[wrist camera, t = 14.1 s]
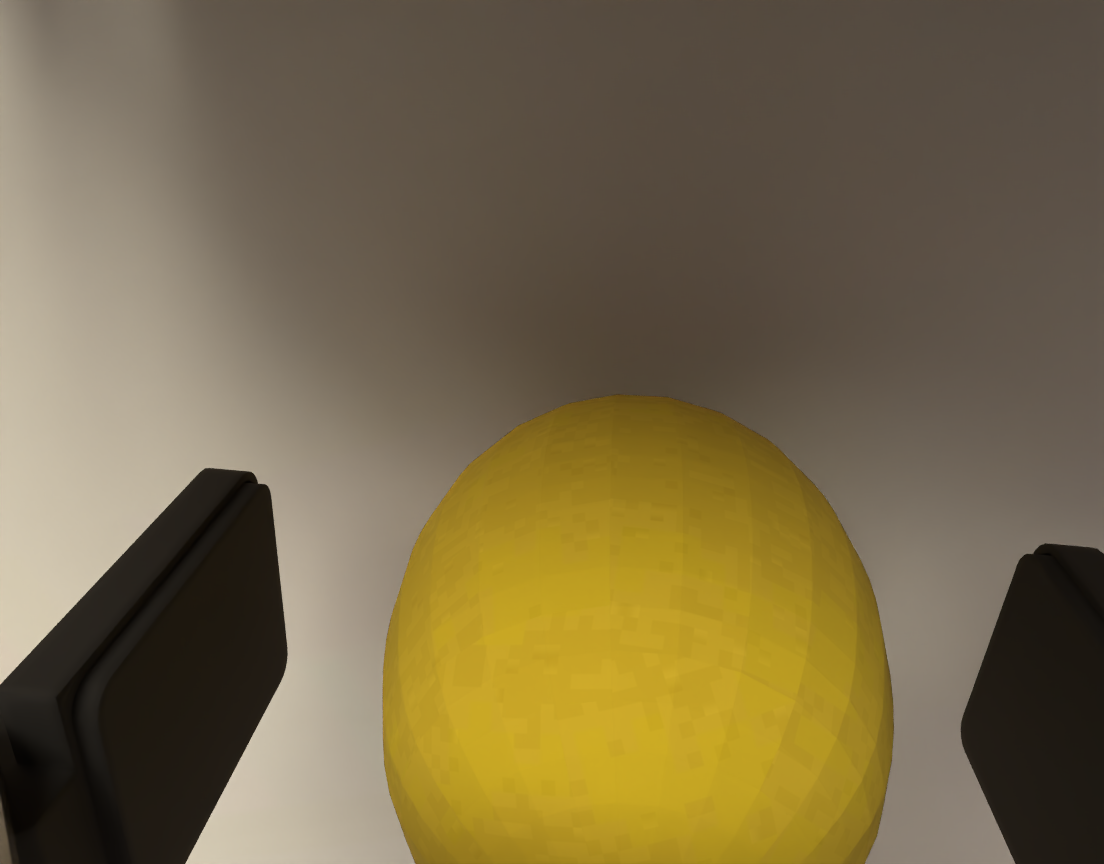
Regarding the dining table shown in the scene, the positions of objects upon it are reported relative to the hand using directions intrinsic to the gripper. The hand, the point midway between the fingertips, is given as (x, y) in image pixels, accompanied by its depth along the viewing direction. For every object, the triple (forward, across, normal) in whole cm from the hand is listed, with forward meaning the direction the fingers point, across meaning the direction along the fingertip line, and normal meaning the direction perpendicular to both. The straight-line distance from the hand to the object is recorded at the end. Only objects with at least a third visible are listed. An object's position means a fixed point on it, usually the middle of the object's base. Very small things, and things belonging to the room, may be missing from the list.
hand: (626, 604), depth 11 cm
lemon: (+3, 0, 0) cm, 3 cm away
